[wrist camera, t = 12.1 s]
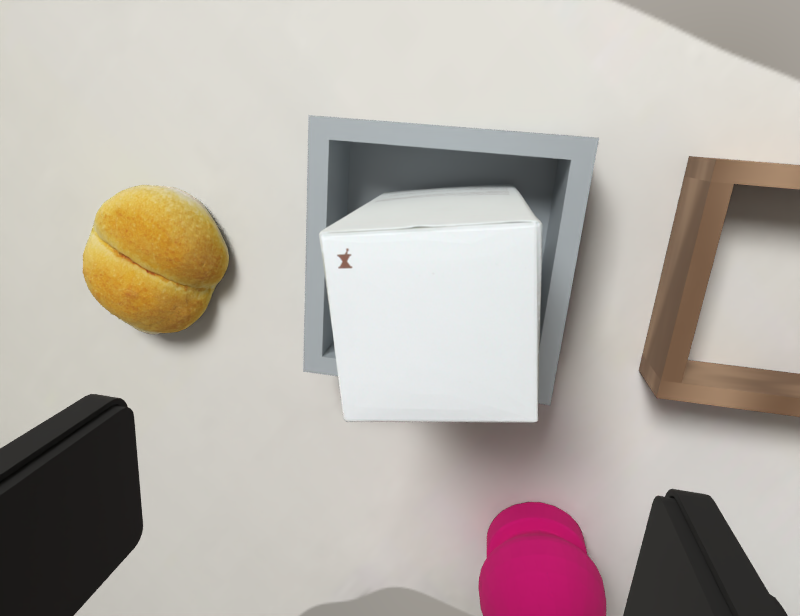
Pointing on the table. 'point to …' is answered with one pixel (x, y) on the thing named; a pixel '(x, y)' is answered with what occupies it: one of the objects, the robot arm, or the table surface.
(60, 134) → the table surface
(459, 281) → the supplement box
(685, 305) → the walnut frame
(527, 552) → the pepper mill
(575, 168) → the grey bin
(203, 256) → the bread roll
